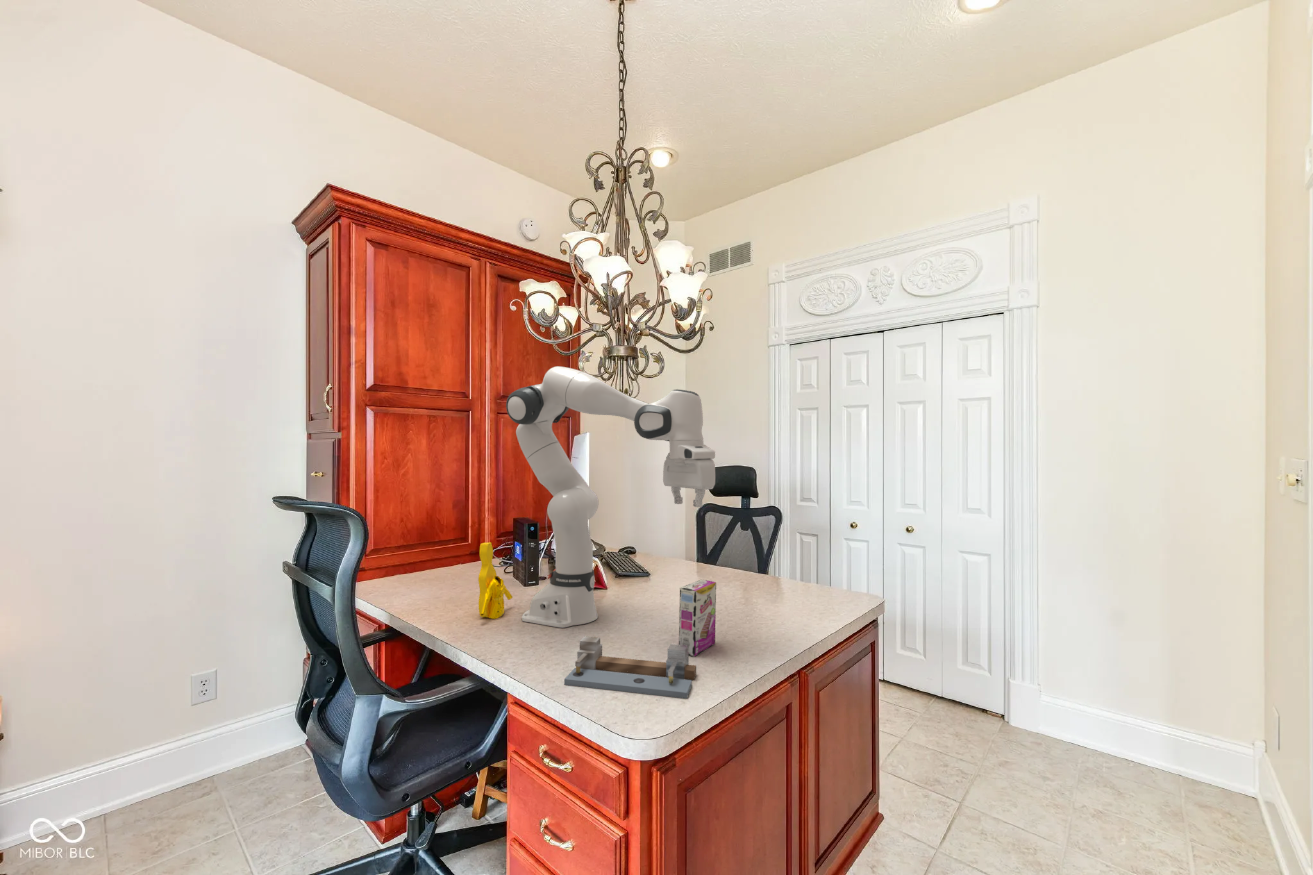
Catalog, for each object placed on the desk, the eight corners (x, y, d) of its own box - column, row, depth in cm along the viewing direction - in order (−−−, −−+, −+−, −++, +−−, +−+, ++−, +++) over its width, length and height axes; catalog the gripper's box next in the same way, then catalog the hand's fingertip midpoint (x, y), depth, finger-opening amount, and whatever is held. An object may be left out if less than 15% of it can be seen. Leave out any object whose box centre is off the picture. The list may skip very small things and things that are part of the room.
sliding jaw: (661, 688, 114) (661, 660, 114) (671, 667, 124) (671, 641, 124) (679, 690, 113) (679, 662, 113) (688, 669, 123) (688, 643, 123)
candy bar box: (695, 657, 131) (695, 590, 131) (678, 653, 134) (678, 587, 134) (716, 643, 140) (717, 581, 140) (700, 639, 143) (700, 578, 143)
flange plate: (564, 684, 116) (564, 678, 116) (574, 673, 122) (574, 667, 122) (686, 698, 110) (687, 692, 110) (691, 685, 116) (691, 679, 116)
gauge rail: (568, 679, 118) (568, 651, 118) (586, 660, 129) (586, 634, 129) (689, 693, 112) (689, 662, 112) (697, 671, 123) (697, 644, 123)
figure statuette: (488, 626, 153) (488, 549, 153) (463, 624, 155) (464, 548, 155) (517, 607, 170) (518, 538, 171) (495, 606, 172) (495, 537, 172)
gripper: (656, 452, 146) (657, 503, 146) (697, 452, 128) (699, 509, 128) (676, 451, 149) (677, 501, 149) (719, 451, 131) (720, 507, 131)
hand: (687, 505), depth 138 cm, fingers open, 8 cm apart
